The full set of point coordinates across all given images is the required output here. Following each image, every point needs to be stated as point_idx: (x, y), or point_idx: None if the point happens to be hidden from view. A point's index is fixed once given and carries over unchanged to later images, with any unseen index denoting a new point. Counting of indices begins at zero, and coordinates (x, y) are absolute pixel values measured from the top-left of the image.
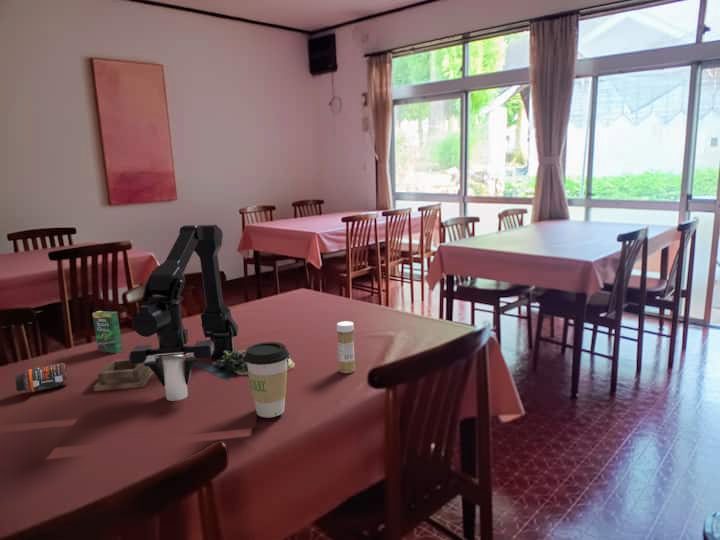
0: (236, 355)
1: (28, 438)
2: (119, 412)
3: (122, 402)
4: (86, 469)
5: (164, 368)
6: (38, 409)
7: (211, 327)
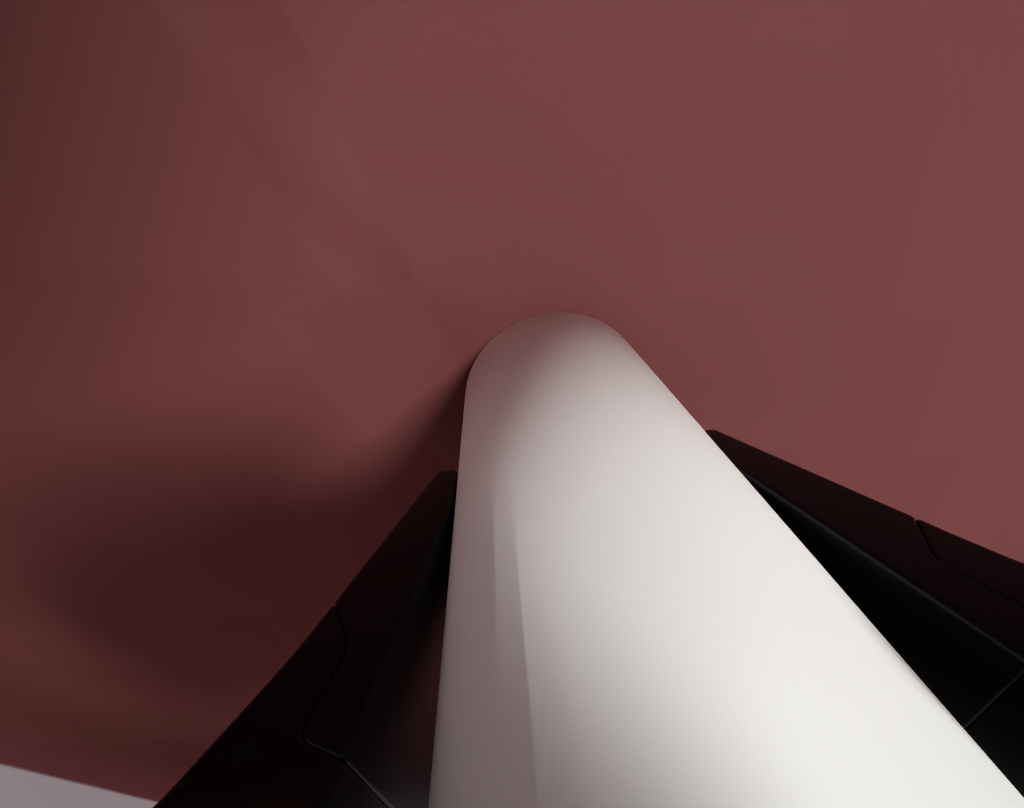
0: None
1: (34, 740)
2: (257, 587)
3: (137, 479)
4: None
5: None
6: None
7: None
